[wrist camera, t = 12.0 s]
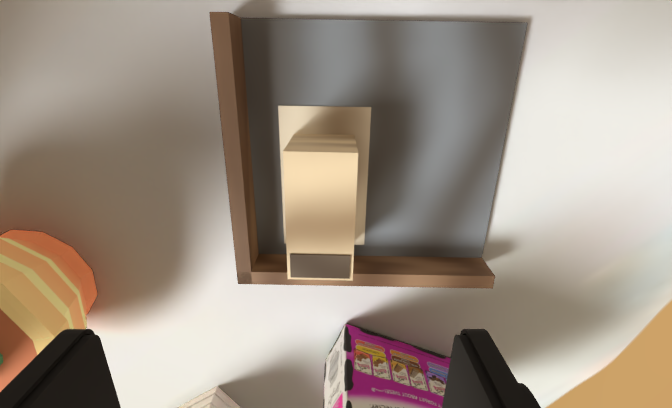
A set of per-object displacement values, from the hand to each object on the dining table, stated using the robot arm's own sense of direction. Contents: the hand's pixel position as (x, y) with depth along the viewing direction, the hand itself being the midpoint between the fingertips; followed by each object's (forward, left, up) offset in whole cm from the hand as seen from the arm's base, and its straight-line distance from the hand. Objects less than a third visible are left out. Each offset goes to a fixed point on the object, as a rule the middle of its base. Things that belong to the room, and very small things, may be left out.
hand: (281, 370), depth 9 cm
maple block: (0, -1, -16) cm, 16 cm away
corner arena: (+4, +2, -17) cm, 17 cm away
